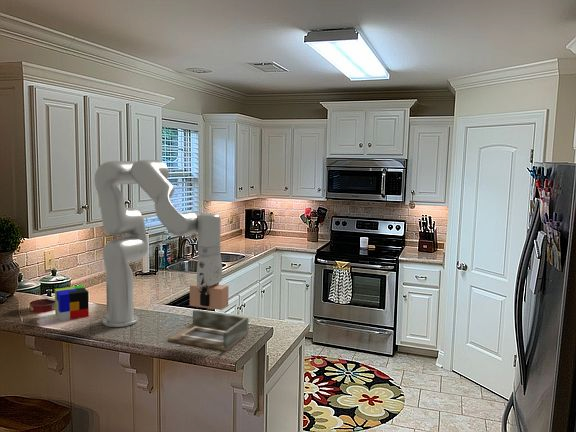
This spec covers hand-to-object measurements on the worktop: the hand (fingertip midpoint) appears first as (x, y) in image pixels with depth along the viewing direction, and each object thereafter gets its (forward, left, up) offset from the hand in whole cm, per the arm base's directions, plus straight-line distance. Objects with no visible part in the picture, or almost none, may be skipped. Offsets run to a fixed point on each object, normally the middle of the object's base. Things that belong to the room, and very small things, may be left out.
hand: (209, 302), depth 161 cm
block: (0, 0, -1) cm, 1 cm away
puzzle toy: (-48, -38, -14) cm, 62 cm away
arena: (-3, +1, -13) cm, 14 cm away
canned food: (-61, -47, -14) cm, 78 cm away
